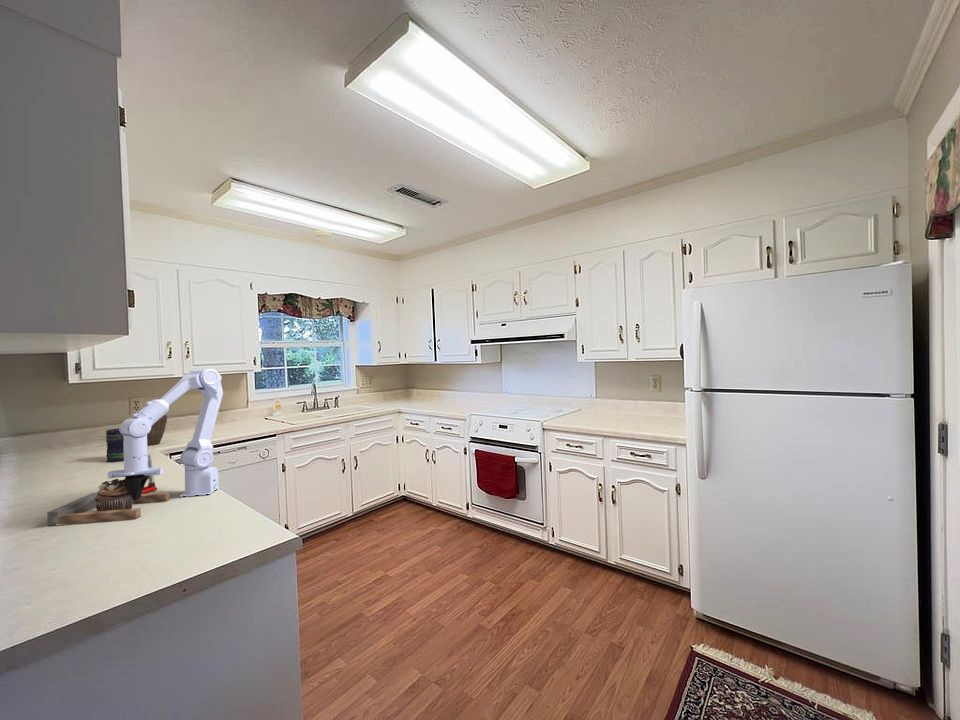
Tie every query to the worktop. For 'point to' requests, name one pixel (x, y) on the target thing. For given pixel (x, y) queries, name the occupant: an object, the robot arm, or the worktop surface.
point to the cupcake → (113, 496)
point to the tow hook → (149, 479)
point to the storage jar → (114, 446)
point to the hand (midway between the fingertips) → (136, 499)
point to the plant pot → (157, 431)
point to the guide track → (78, 508)
